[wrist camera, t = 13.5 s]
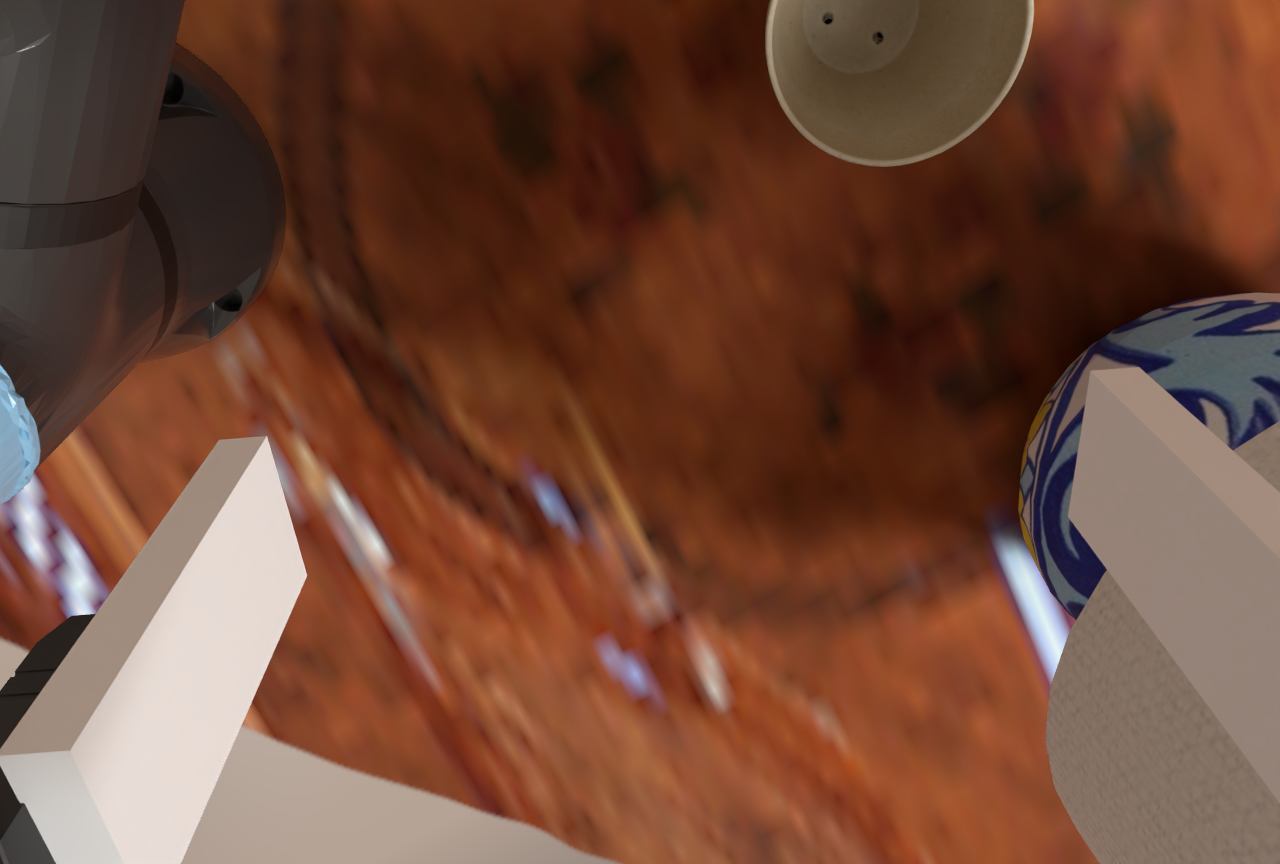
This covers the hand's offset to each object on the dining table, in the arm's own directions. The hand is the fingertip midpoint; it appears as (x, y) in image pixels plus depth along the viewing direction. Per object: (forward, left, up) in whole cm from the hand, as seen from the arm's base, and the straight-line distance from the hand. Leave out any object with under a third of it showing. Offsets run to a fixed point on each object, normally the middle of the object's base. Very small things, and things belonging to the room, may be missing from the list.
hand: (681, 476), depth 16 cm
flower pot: (+10, +3, -33) cm, 35 cm away
